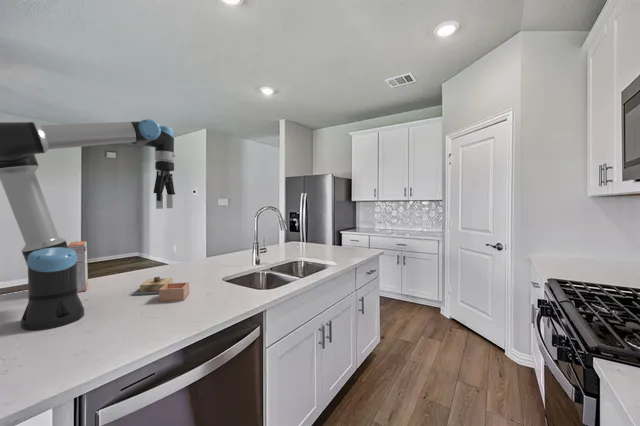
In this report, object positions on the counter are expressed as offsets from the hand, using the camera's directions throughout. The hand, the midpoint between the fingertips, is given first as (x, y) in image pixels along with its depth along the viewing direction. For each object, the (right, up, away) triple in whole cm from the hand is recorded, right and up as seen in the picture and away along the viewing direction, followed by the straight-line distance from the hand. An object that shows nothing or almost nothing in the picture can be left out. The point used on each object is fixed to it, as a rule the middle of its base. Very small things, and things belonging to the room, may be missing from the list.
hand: (165, 208), depth 128 cm
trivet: (-3, -37, -1) cm, 37 cm away
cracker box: (-39, -37, -1) cm, 53 cm away
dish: (+11, -37, -12) cm, 40 cm away
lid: (-3, -36, -1) cm, 36 cm away
